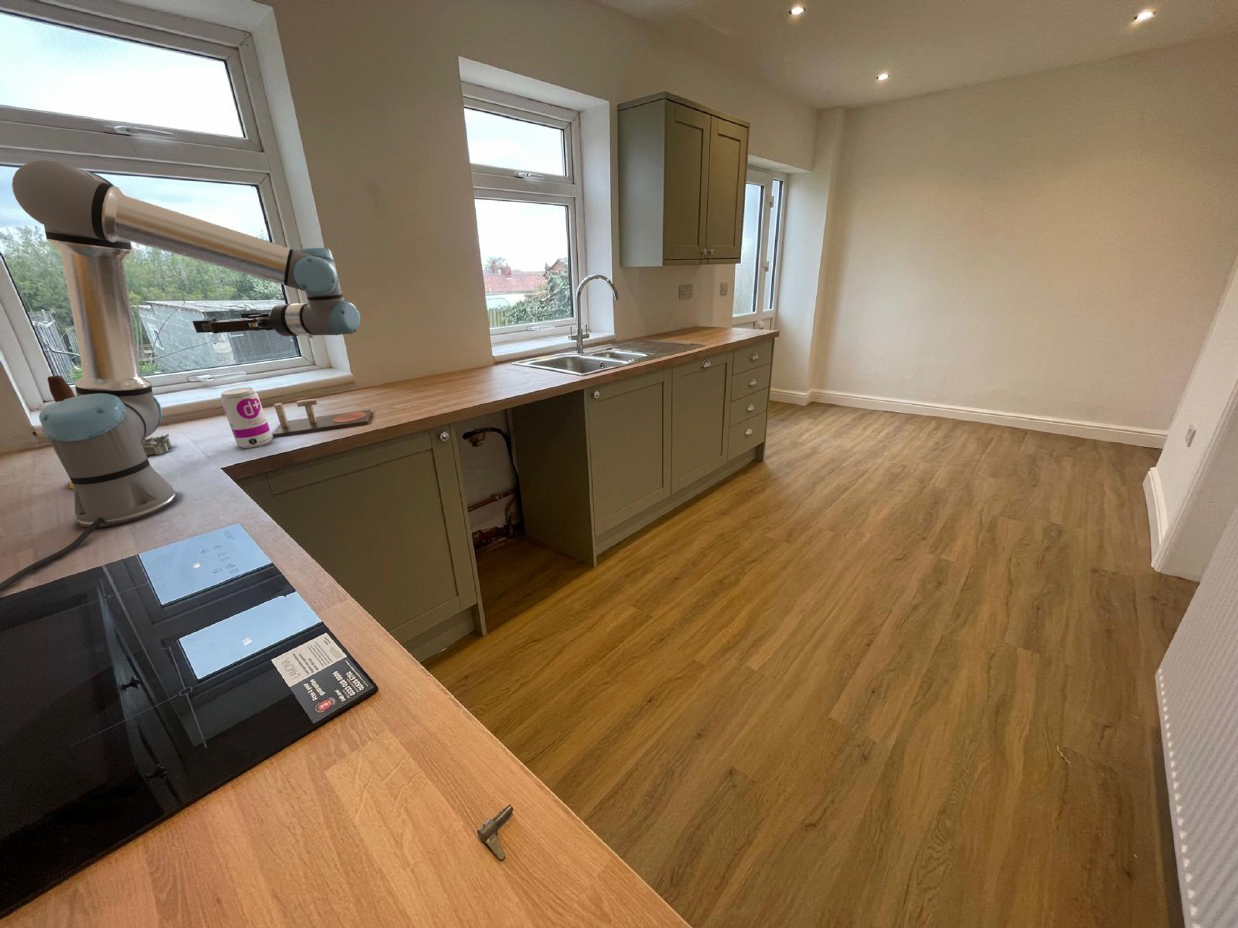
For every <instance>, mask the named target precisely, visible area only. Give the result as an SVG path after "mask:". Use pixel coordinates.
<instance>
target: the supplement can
mask: <svg viewBox="0 0 1238 928" xmlns="http://www.w3.org/2000/svg"><path fill="white" fill-rule="evenodd" d="M219 400H220V402H221V405H222V408H223V410H224V411H223V412H224V413H225V416H226V419H227V421H228V425H229V427H230V429H231V432H232V435H233V437H234V440H235V442H236V446H238V447H241V448H243V449H250V448H257V447H261V446H265V445H267V444H268V443H270V442H271V441H272V439H273V435H272V432H271V429H270V426H269V423H268V420H267V417H266V414H265V412H264V409H263V405H262V403H261V399H260V397H259V394H258V393H257V392H256V391H255V390H254V388H253V387H239V388H238V387H237V388H233V389H228V390H225V391H223V392H221V396H220V399H219Z"/></svg>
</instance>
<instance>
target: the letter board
mask: <svg viewBox="0 0 1238 928" xmlns="http://www.w3.org/2000/svg"><path fill="white" fill-rule="evenodd" d="M318 404H319V402H318V399H317V398H309V399H300V400H297V401H296V405H297V407H298V408H300V407H304V409H305V413H306V415H307V417H306V418H297V419H289V420H288V418H287V415H286V414H287V413H286V412H285V408H284V404H283V403H282V402H277V403H276V402H275V404H273V407H274V410H275V412H276V415H277V418H278V421H279V425H278V426H277V428H276V429H275V430H274V432H273V433H271V435H272V438H278V437H287V436H292V435H293V436H295V435H301V434H308V433H313V432H314V433H315V432H321V431H329V430H335V429H336V430H337V429H341V428H343V429H344V428H350V427H357V426H364V425H368V424H369V423H370V420H371V419H370V418H371V415H372V410H371V409H364V410H357V411H351V412H349V411H348V412H343V413H334V414H327V415H320V416H316V414H315V410H314V406H315V405H318Z"/></svg>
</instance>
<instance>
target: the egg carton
mask: <svg viewBox="0 0 1238 928" xmlns="http://www.w3.org/2000/svg"><path fill="white" fill-rule="evenodd" d="M141 445H142V447H143V450H144V452H145V454H146V456H147V457H148V456H150V455H156V456H157V455H162V454H164V453H167V452H169V451H170V450H169V449H170V448H172V447H173V445H172V442H171V440H170V434H169V433H166V434H165V435H160V436H156V437H153V436H151V437H149V438H148V437H147V438H146V439H144V440H143V441H142V442H141Z"/></svg>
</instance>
